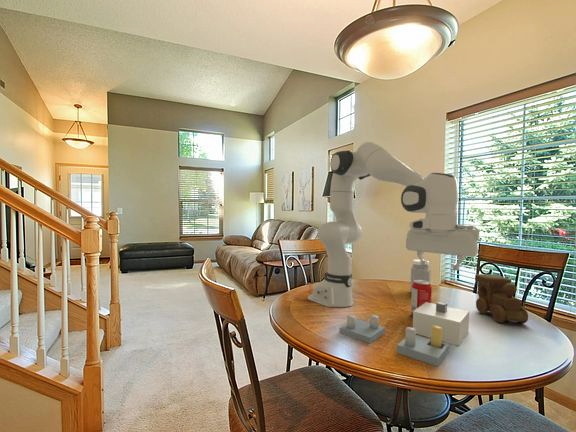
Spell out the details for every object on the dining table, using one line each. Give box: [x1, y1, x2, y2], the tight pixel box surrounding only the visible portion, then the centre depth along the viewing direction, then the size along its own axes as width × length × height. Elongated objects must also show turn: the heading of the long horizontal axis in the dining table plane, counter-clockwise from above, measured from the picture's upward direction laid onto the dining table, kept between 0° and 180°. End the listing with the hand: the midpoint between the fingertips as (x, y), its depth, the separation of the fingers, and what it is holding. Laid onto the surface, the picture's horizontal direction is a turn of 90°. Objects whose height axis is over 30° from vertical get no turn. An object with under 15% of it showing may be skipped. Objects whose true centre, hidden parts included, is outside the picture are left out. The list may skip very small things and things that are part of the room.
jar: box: [410, 258, 432, 293], centre depth 162 cm, size 10×10×18 cm
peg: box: [430, 326, 443, 349], centre depth 95 cm, size 3×3×8 cm
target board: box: [396, 326, 450, 367], centre depth 94 cm, size 12×12×8 cm
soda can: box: [410, 280, 433, 316], centre depth 126 cm, size 8×8×15 cm
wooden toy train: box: [474, 273, 529, 324], centre depth 127 cm, size 20×11×17 cm, turn 0°
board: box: [338, 314, 386, 344], centre depth 108 cm, size 12×12×6 cm
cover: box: [412, 301, 470, 347], centre depth 110 cm, size 15×15×11 cm
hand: (439, 267), depth 94 cm, fingers open, 8 cm apart
